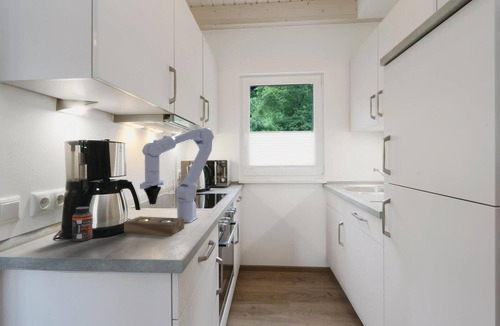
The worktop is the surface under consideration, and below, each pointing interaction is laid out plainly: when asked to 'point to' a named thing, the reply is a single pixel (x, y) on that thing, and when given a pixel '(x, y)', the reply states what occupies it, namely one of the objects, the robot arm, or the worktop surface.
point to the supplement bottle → (82, 224)
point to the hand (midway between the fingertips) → (152, 204)
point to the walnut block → (154, 226)
